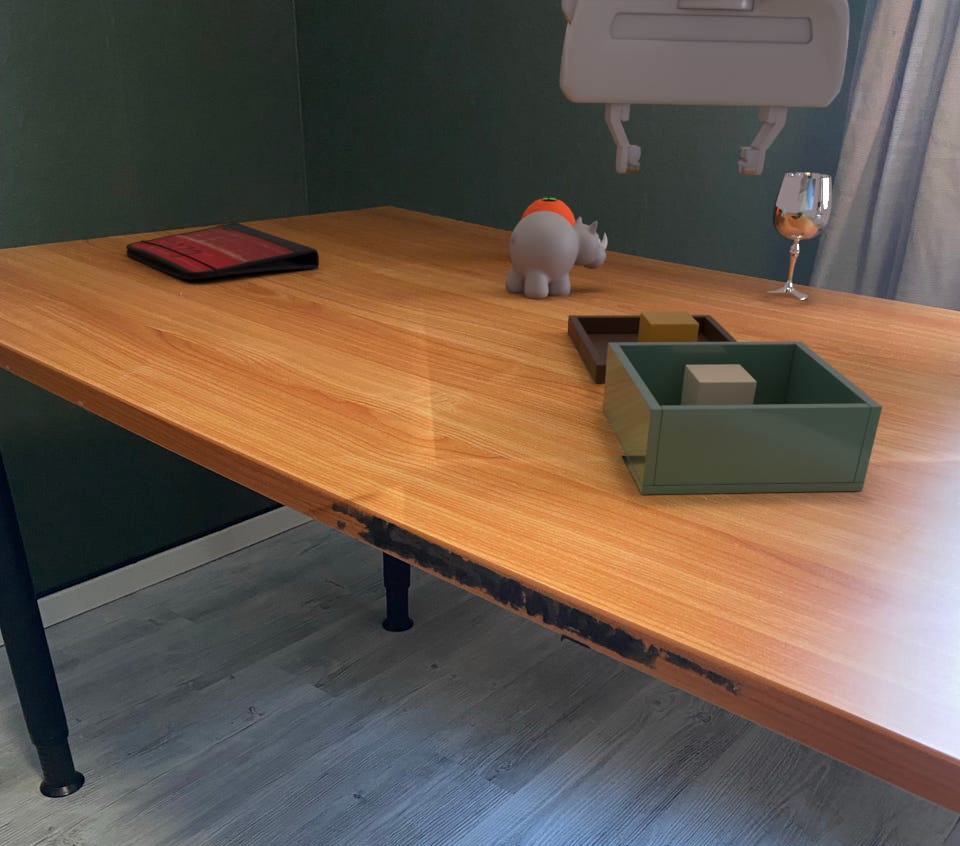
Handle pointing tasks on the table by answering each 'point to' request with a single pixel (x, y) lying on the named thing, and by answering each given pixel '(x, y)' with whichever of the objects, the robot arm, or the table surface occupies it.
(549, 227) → the chubby cartoon animal
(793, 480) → the green storage bin
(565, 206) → the clementine
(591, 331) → the shallow brown tray
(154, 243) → the binder
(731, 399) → the cream block
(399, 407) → the table surface
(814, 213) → the wineglass
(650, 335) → the mustard block
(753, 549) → the table surface
